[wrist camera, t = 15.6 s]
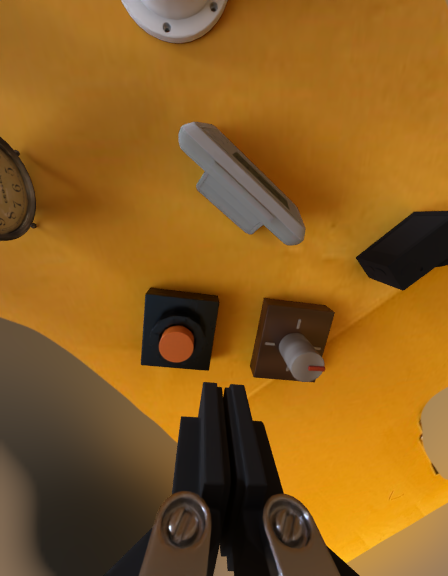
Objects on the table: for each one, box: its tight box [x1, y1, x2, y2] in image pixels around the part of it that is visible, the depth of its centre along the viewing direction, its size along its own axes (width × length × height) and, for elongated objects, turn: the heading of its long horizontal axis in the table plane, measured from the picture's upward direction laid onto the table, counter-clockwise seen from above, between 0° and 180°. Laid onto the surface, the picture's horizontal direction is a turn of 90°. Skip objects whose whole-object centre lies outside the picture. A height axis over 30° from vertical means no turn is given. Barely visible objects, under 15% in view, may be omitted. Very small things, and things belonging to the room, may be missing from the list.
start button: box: [159, 325, 194, 362], centre depth 33 cm, size 4×4×2 cm
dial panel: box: [250, 298, 335, 382], centre depth 39 cm, size 12×10×3 cm
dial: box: [279, 333, 325, 382], centre depth 34 cm, size 4×4×6 cm
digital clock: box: [179, 122, 305, 245], centre depth 28 cm, size 16×9×11 cm, turn 39°
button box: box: [141, 288, 219, 371], centre depth 36 cm, size 11×10×5 cm
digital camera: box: [356, 211, 448, 290], centre depth 34 cm, size 10×5×7 cm, turn 130°
